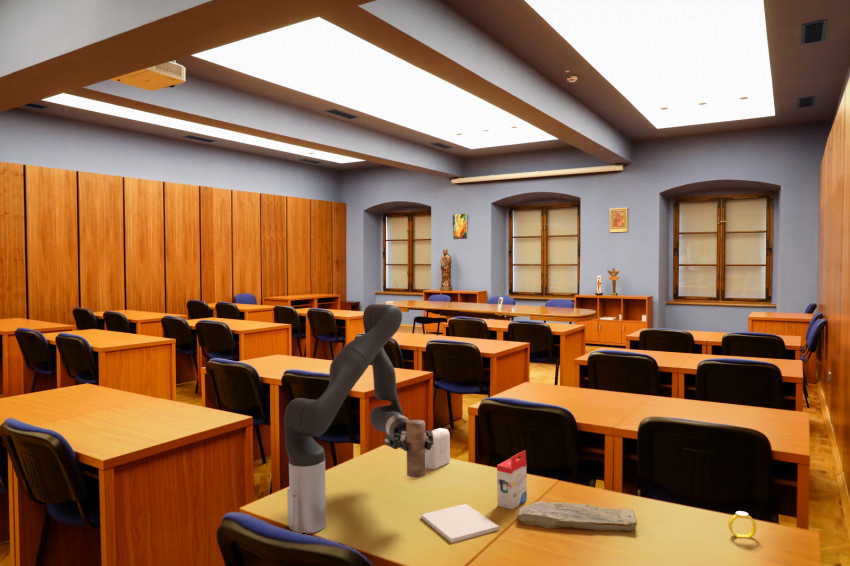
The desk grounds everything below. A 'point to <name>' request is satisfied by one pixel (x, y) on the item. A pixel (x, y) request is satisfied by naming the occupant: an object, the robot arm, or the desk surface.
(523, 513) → the stone slab
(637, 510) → the desk surface
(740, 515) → the gold ring
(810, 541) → the desk surface
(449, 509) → the white mat
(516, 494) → the ink box
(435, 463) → the white rounded slab
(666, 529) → the desk surface
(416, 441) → the slanted wooden cylinder
